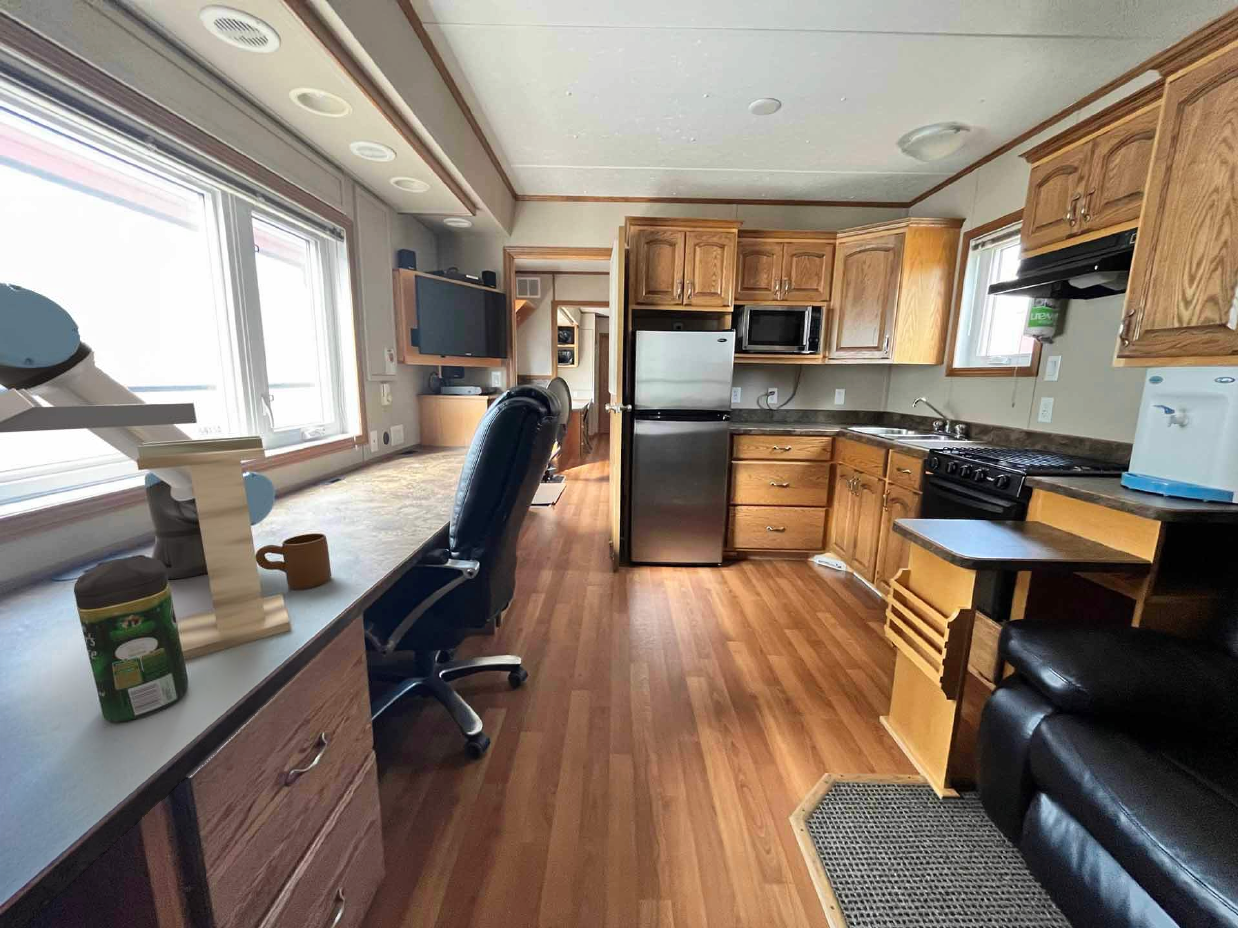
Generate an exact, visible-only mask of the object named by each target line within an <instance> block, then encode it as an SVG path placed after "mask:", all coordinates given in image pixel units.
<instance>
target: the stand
mask: <svg viewBox="0 0 1238 928" xmlns="http://www.w3.org/2000/svg"><path fill="white" fill-rule="evenodd" d="M137 447H138V453H139V458H138V459H136V460H137V463H136V465H137V470H138V471H146V470H147V469H157V468H168V467H179V466H189V467H190V473H191V478H192V484H193V490H194V496H195V501H196V507H197V513H198V519H199V524H200V530H201V536H202V542H203V547H204V553H205V559H206V565H207V570H208V573H207V574H208V575H207V576H208V579H209V580H208V581H209V587H210V592H211V593H210V594H211V599H212V604H213V610H209V611H205V612H201V613H196V614H192V615H188V616H184V617H181V618H180V617H179V620H178V623H177V627H178V632H179V638H180V643H181V648H182V652H183V657H184V661H188V660H191V659H194V658H197V657H201V656H205V655H208V654H212V653H216V652H218V651H222V650H226V649H229V648H233V647H237V646H240V645H243V644H247V643H251V642H254V641H258V640H262V639H264V638H267V637H271V636H272V637H273V636H274V635H278V634H281V633H282V634H283V633H286V632H290V631H291V622H290V619H289V614H288V611H287V607H286V604H285V601H284V600H285V599H284V598H283V594H282V593H279V594H276V595H275V594H274V595H270V596H266V597H263V595H262V590H261V583H260V576H259V570H258V563H257V561H256V549H255V544H254V537H253V531H252V526H251V524H250V517H249V511H248V504H247V498H246V491H245V485H244V478H243V472H242V468H243V467H242V462H244V461H254V460H255V461H256V460H265V459H267V458H266V453H265V452H266V451H265V448H264V446H263V439H262V437H261V436H260V435H245V436H244V435H243V436H231V437H217V438H215V437H214V438H202V439H201V438H199V439H193V440H183V441H167V442H152V443H142V446H137Z"/></svg>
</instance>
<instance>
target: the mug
mask: <svg viewBox="0 0 1238 928" xmlns="http://www.w3.org/2000/svg"><path fill="white" fill-rule="evenodd" d="M281 545H282V546H281ZM281 545H275V544H267V545H264V546H263V547H260V548H259V549H258V550H257V551H256V552H255V556H256V562H257V566H259V567H261V568H262V569H264V570H268V571H269V570H270V571H275V570H277V571H281V572H283V573H285V576H286V582H287V586H288V587H289V588H290V589H292V590H296V591H297V590H308V589H312V588H316V587H320V586H322V585H324V584H326V583H328V582H329V581H330V580H331V579H332V578H331V577H332V570H331V562H330V561H331V560H330V553H329V546H328V545H329V544H328V540H327V536H326V535H325V534H323V533H316V532H315V533H306V534H301V535H300V534H299V535H295V536H292V537H288V538H287V539H285V540H283V541H282V543H281ZM266 554H277V555H282V557H283V561H281V560H272V561H271V560H269V559H268V558H266Z"/></svg>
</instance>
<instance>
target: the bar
mask: <svg viewBox="0 0 1238 928" xmlns="http://www.w3.org/2000/svg"><path fill="white" fill-rule="evenodd" d="M194 403H195V402H179V403H178V402H176V403H173V402H172V403H170V402H169V403H147V404H130V405H94V406H58V407H54V406H43V407H34V408H31V409H29V410H27V411H25V412H22V413H20V414H18V415H15V416H13V417H11V418H8V419H6V420H4V421H2V422H0V433H21V432H22V433H23V432H38V431H39V432H41V431H42V432H43V431H58V430H59V431H60V430H61V431H62V430H81V429H82V430H83V429H86V428H106V427H127V426H147V425H168V424H174V425H183V424H188V425H189V424H197V422H198V421H197V413H196V408H195V404H194Z"/></svg>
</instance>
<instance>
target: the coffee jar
mask: <svg viewBox="0 0 1238 928" xmlns="http://www.w3.org/2000/svg"><path fill="white" fill-rule="evenodd" d="M169 583H170V582H169V579H168V577H167V574H166V566H165V565H164V564H163V563H162V561H160V560H158V559H155V558H151V556H150V557H149V556H145V555H144V554H139V555H134V556H128V557H121V558H117V559H111V560H106V561H102V562H99V563H98V564H96V565H95V566H93V567H92V568H90V569H89V570H87V571H85V572H84V573H82V574H81V575H80V576H79V577H78V579H77V580H76V582H75V583H74V587H73V593H74V596H75V603H76V604H75V605H76V608H77V612H78V618H79V622H80V626H81V629H82V635H83V638H84V642H85V649H86V651H87V655H88V660H89V662H90V666H91V671H92V676H93V678H94V684H95V688H96V691H97V695H98V700H99V701H98V702H99V704H100V705H99V706H100V709H101V713H102V717H103V719H105V721H107V722H108V723H113V724H114V723H118V722H125V721H133V720H138V719H141V718H143V717H147V716H150V715H153V714H156V713H158V712H160V711H162V710H163V709H165V708H167V707H168V706H170V705H172V704H174V703H175V702H178V701H179V700H181V699H182V698H183V697H184V696H185V694H186V692H187V690H188V686H189V679H188V673H187V668H186V662H185V661H186V660H184V657H183V652H182V648H181V643H180V638H179V632H178V622H177V618H176V617H177V616H176V613H175V612H176V611H175V607H174V603H173V602H174V601H173V597H172V593H171V588H170V584H169Z"/></svg>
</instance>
